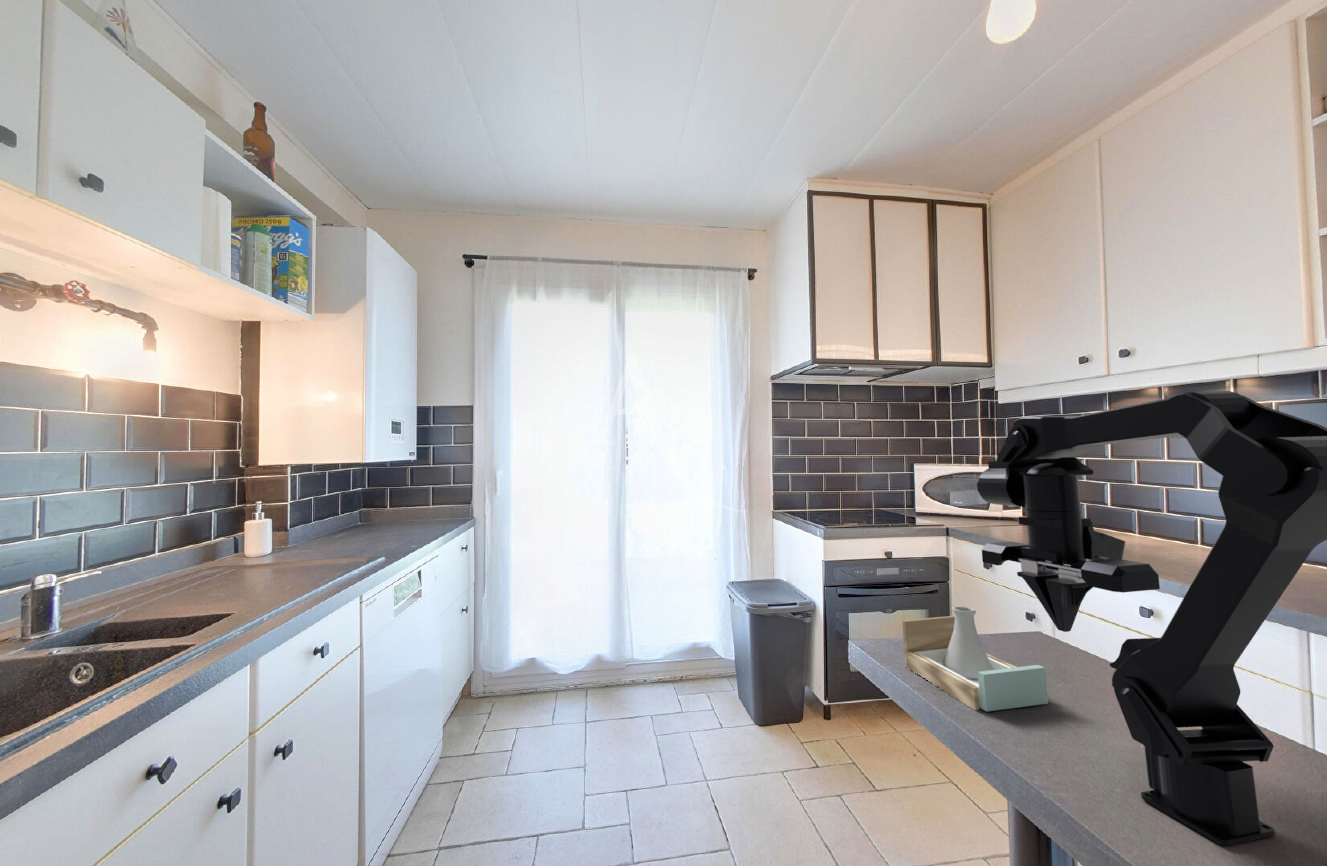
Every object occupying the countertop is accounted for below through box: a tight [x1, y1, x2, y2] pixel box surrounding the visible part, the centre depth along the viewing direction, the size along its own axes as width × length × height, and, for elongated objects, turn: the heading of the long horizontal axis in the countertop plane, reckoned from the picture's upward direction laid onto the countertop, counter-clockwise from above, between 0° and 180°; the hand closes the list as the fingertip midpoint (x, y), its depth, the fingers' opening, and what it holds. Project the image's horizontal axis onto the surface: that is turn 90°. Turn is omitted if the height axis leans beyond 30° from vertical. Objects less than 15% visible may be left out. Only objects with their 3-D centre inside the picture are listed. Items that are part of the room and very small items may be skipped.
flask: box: [943, 605, 994, 679], centre depth 77 cm, size 7×7×10 cm
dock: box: [901, 615, 1017, 711], centre depth 75 cm, size 15×12×8 cm
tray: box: [914, 648, 1049, 712], centre depth 74 cm, size 15×10×5 cm
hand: (1064, 630), depth 61 cm, fingers closed
